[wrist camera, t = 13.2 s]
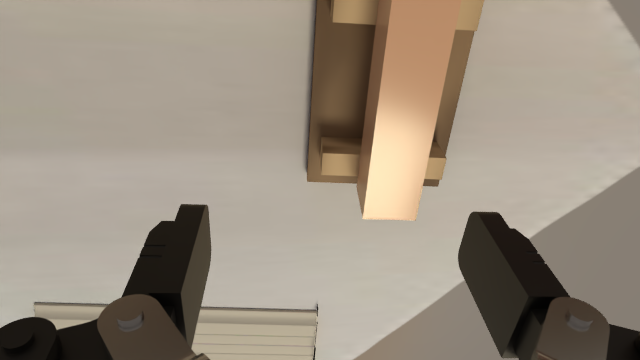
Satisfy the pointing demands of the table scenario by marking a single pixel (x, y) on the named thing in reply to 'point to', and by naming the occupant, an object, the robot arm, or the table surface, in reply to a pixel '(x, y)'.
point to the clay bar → (403, 103)
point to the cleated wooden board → (352, 88)
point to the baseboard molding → (222, 330)
